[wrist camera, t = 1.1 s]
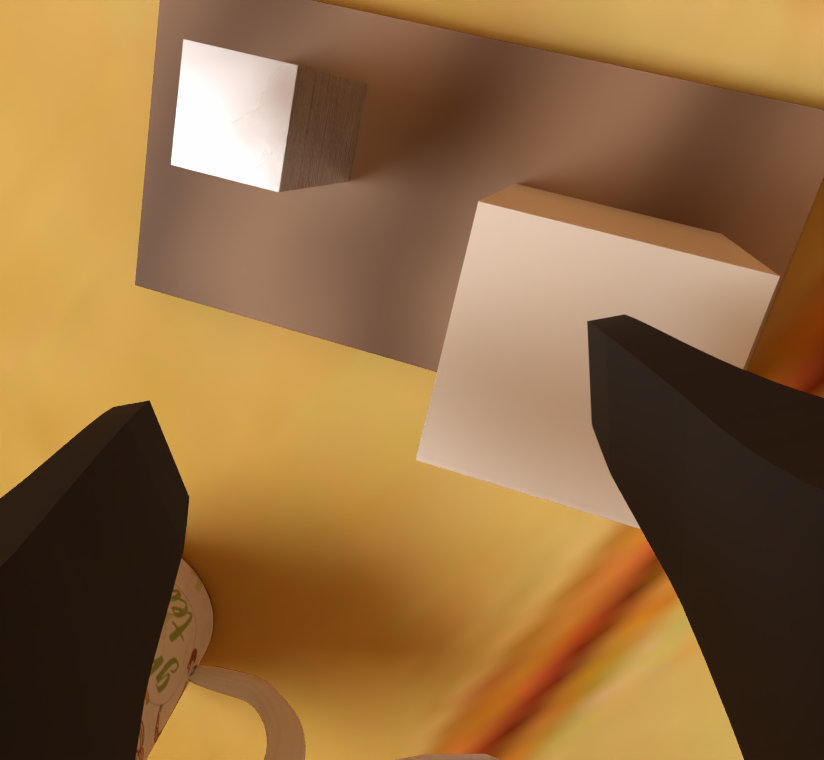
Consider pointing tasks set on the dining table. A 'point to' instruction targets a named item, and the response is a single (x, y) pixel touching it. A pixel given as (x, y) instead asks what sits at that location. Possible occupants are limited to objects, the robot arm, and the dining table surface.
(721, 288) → the tan rectangular block
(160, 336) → the dining table surface
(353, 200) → the stand
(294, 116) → the post
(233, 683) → the mug
